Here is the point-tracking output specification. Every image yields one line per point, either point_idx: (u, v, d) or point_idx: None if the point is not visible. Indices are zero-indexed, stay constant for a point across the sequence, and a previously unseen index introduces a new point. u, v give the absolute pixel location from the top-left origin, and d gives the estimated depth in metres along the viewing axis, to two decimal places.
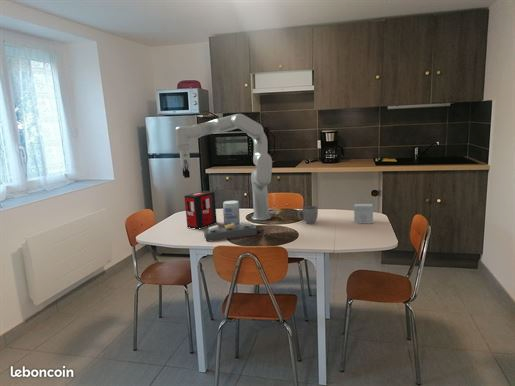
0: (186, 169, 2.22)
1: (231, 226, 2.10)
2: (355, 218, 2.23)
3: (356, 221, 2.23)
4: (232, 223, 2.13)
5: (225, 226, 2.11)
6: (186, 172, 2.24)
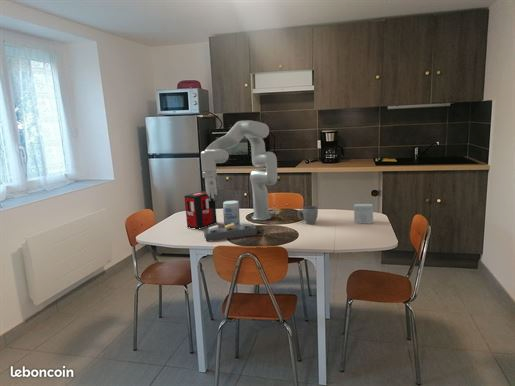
0: (211, 199, 2.04)
1: (231, 226, 2.10)
2: (355, 218, 2.23)
3: (356, 221, 2.23)
4: (232, 223, 2.13)
5: (225, 226, 2.11)
6: (211, 202, 2.05)
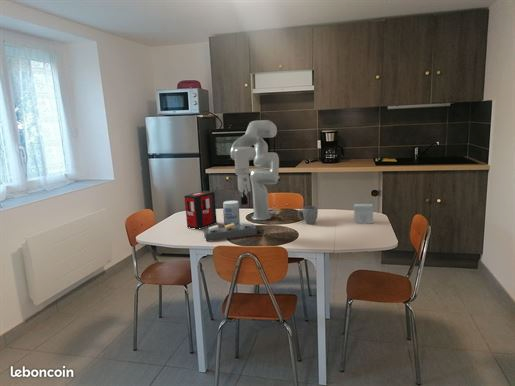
0: (244, 196, 2.09)
1: (231, 226, 2.10)
2: (355, 218, 2.23)
3: (356, 221, 2.23)
4: (232, 223, 2.13)
5: (225, 226, 2.11)
6: (244, 199, 2.10)
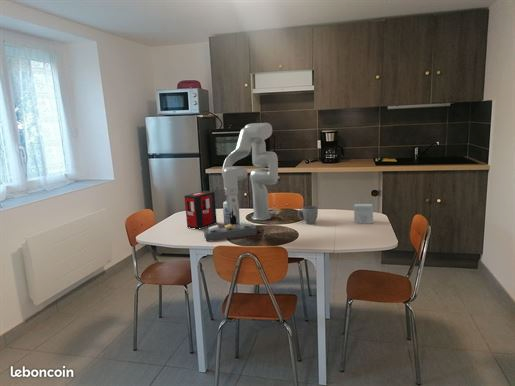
0: (233, 216, 2.09)
1: (231, 226, 2.10)
2: (355, 218, 2.23)
3: (356, 221, 2.23)
4: None
5: (225, 226, 2.11)
6: (233, 219, 2.10)
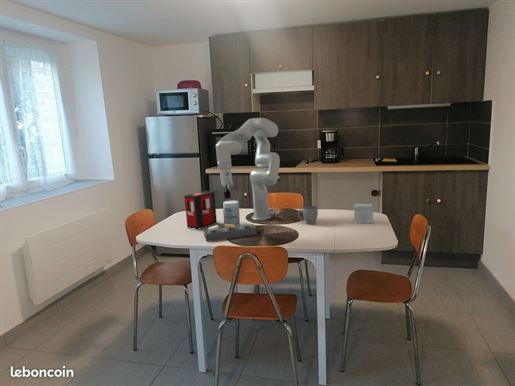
0: (227, 190, 2.10)
1: (231, 226, 2.10)
2: (355, 218, 2.23)
3: (356, 221, 2.23)
4: None
5: (226, 224, 2.11)
6: (227, 193, 2.12)
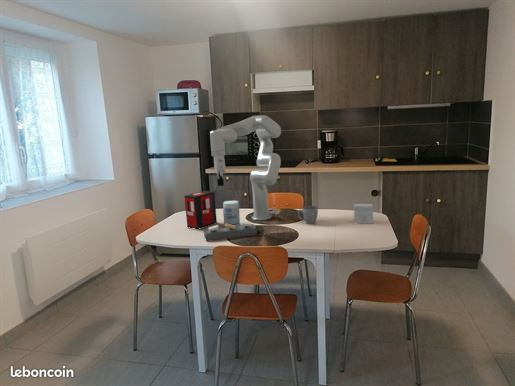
0: (220, 177, 2.12)
1: (231, 227, 2.10)
2: (355, 218, 2.23)
3: (356, 221, 2.23)
4: (233, 225, 2.13)
5: (226, 223, 2.11)
6: (220, 180, 2.14)
